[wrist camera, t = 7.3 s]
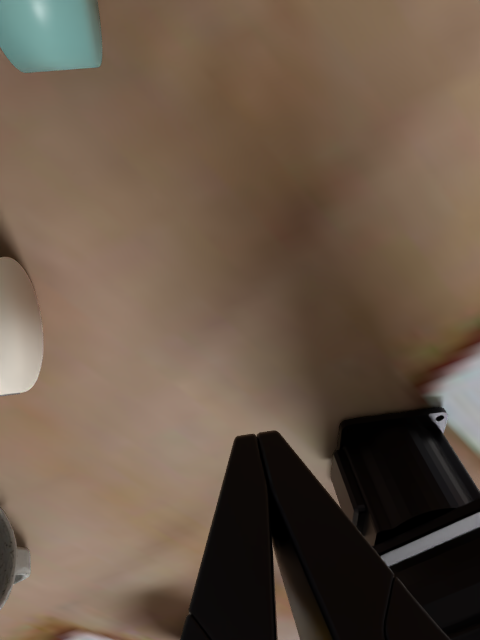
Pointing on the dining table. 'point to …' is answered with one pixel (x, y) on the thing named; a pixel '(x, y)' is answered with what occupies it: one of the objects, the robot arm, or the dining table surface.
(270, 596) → the robot arm
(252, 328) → the dining table surface
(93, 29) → the knob
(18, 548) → the ceramic mug
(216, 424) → the dining table surface
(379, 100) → the dining table surface
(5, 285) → the knob
